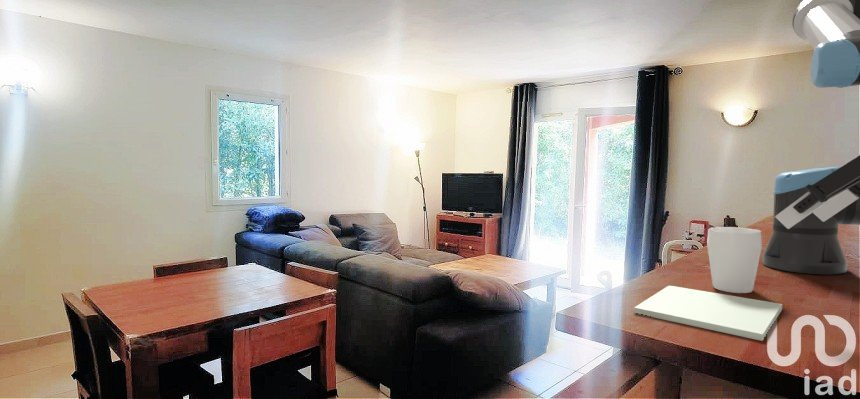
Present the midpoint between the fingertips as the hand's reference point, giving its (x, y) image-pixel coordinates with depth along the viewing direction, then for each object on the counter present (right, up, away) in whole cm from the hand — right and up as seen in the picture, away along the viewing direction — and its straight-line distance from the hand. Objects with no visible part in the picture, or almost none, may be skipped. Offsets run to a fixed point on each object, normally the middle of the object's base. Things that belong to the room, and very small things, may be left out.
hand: (800, 219), depth 78 cm
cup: (-5, -15, +11) cm, 19 cm away
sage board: (-18, -16, -2) cm, 24 cm away
